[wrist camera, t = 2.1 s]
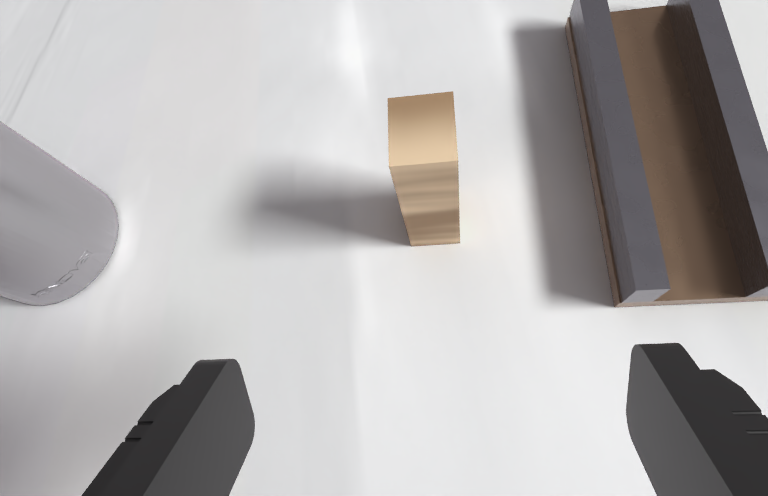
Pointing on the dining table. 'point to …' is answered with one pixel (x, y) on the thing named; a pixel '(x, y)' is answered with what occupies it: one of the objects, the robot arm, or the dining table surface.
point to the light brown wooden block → (425, 166)
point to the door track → (671, 153)
